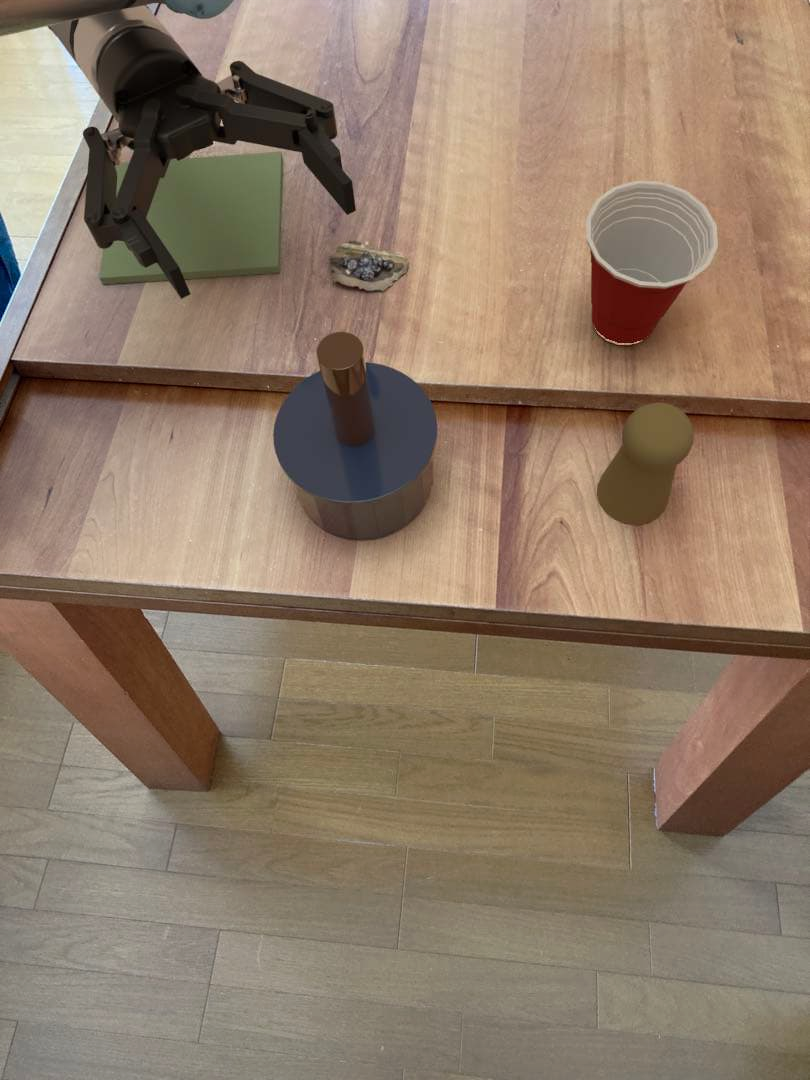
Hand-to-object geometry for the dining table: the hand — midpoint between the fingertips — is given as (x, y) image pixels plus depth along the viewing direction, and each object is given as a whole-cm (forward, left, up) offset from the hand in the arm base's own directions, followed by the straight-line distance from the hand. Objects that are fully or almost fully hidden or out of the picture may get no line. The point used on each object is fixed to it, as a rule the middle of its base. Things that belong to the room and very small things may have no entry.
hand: (267, 240), depth 57 cm
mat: (-12, +24, -20) cm, 33 cm away
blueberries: (+6, +16, -20) cm, 26 cm away
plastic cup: (+30, +7, -20) cm, 37 cm away
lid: (+5, -8, -12) cm, 16 cm away
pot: (+5, -8, -20) cm, 22 cm away
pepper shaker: (+28, -11, -20) cm, 36 cm away
